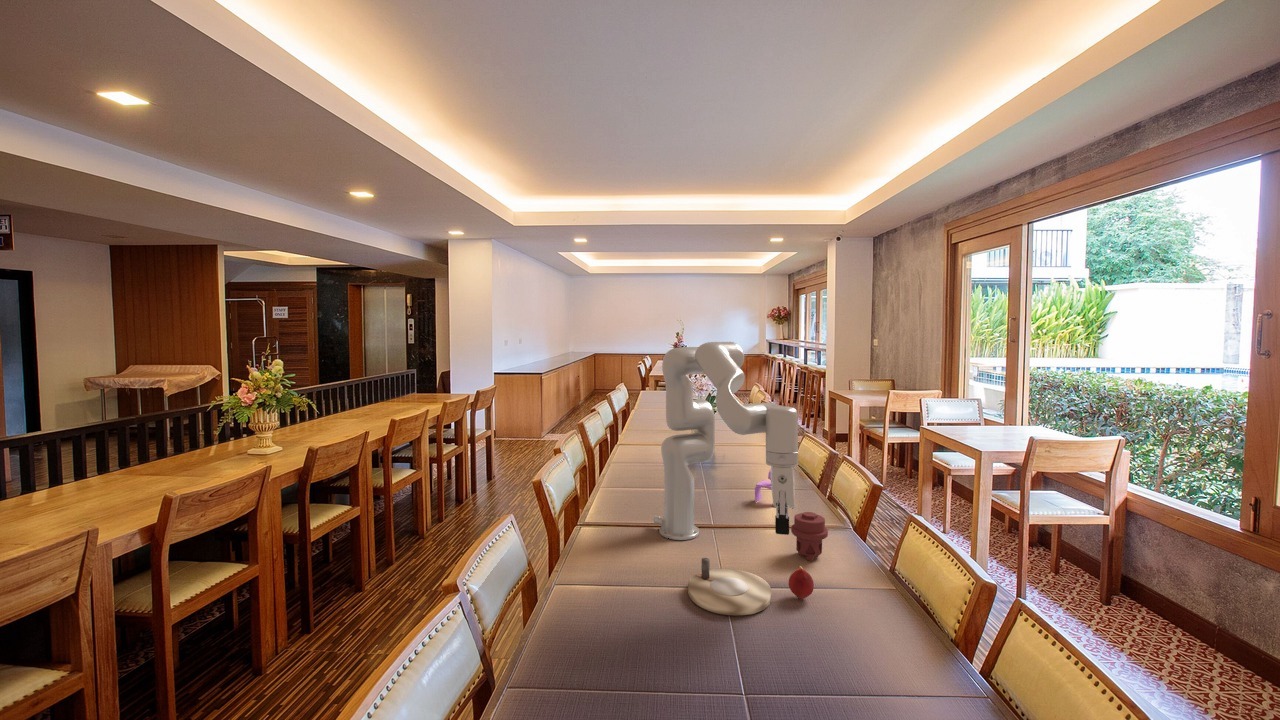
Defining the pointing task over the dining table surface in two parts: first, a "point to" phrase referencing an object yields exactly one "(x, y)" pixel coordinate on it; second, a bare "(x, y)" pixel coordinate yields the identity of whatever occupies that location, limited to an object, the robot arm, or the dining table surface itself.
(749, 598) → the turntable
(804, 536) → the mechanical component
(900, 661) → the dining table surface
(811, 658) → the dining table surface
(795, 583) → the onion
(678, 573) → the dining table surface
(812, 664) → the dining table surface
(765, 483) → the toy chair
